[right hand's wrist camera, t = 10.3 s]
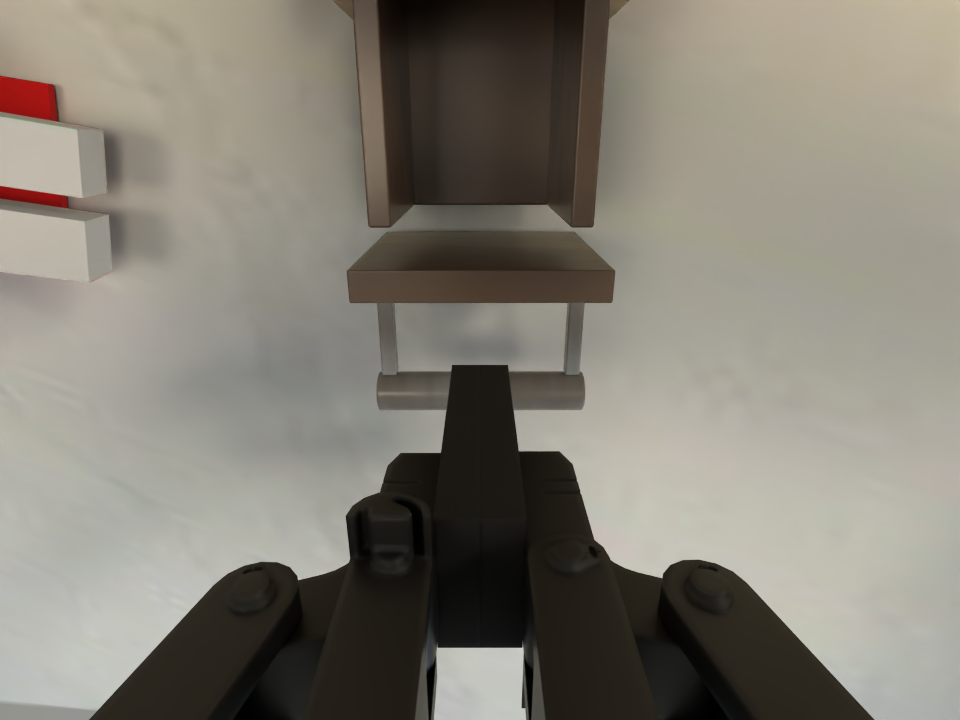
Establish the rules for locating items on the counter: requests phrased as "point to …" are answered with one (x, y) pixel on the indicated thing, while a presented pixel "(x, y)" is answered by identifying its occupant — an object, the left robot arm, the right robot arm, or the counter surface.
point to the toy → (49, 188)
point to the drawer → (481, 169)
